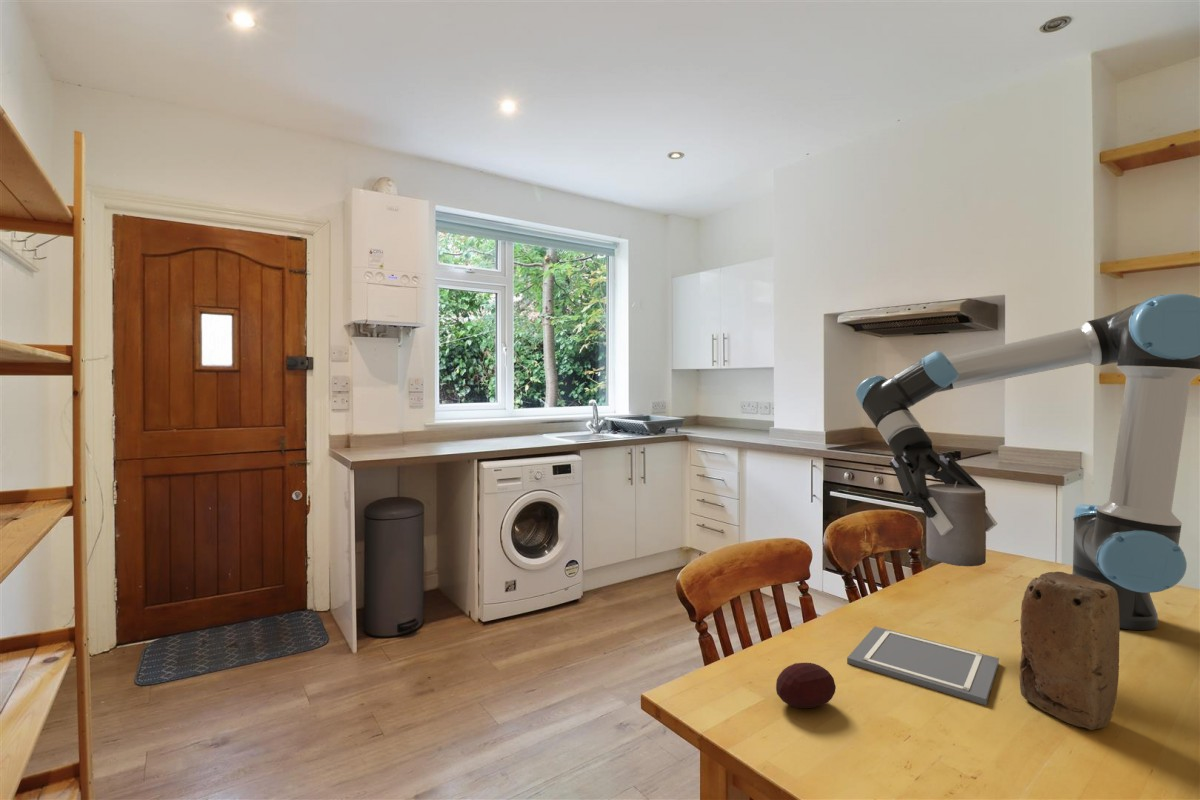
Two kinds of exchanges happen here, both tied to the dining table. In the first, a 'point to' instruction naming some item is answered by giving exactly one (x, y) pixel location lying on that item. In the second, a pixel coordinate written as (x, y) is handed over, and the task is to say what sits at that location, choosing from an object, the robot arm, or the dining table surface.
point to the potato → (805, 685)
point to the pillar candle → (958, 525)
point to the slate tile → (927, 664)
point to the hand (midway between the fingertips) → (969, 529)
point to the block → (1070, 648)
